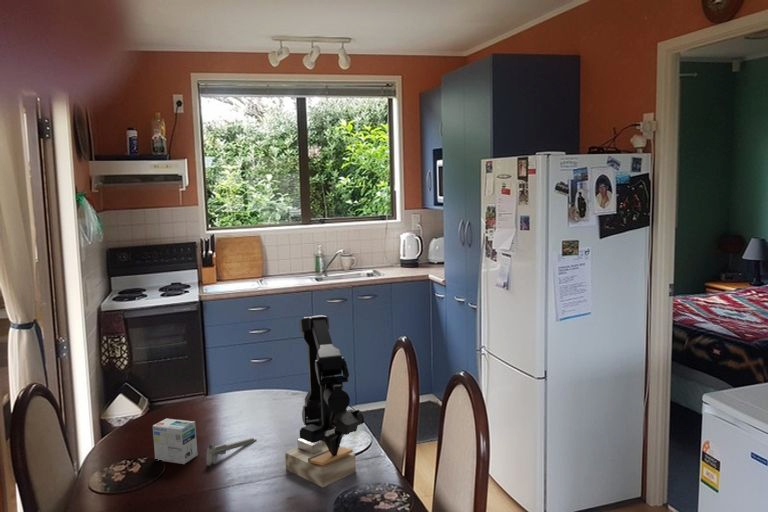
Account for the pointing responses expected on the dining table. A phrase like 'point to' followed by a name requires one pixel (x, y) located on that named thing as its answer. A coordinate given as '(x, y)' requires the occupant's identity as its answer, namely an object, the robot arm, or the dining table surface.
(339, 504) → the dining table surface
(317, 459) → the tan wooden plank
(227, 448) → the caliper
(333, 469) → the hitch block
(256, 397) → the dining table surface
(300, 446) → the steel pin
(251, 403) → the dining table surface
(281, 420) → the dining table surface
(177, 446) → the light bulb box
